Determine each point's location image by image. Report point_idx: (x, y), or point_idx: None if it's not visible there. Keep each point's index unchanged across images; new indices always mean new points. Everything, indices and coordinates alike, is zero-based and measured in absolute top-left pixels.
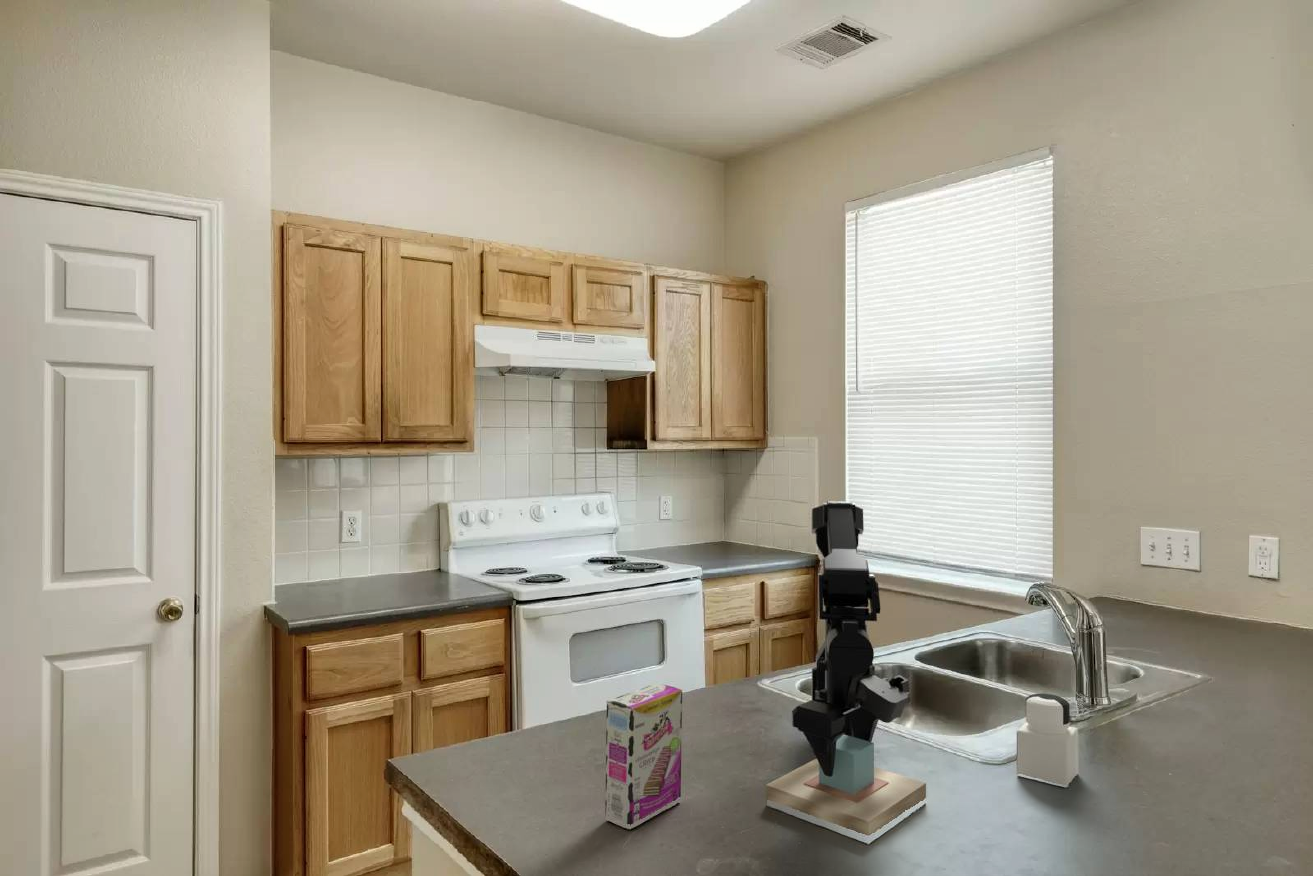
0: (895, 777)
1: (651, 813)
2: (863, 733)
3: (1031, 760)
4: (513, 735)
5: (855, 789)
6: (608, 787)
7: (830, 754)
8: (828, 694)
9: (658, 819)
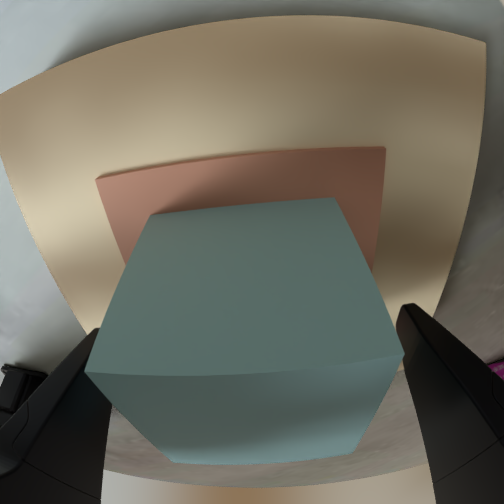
0: (41, 197)
1: (501, 367)
2: (76, 428)
3: None
4: (364, 476)
5: (321, 207)
6: None
7: (502, 379)
8: None
9: (492, 359)
